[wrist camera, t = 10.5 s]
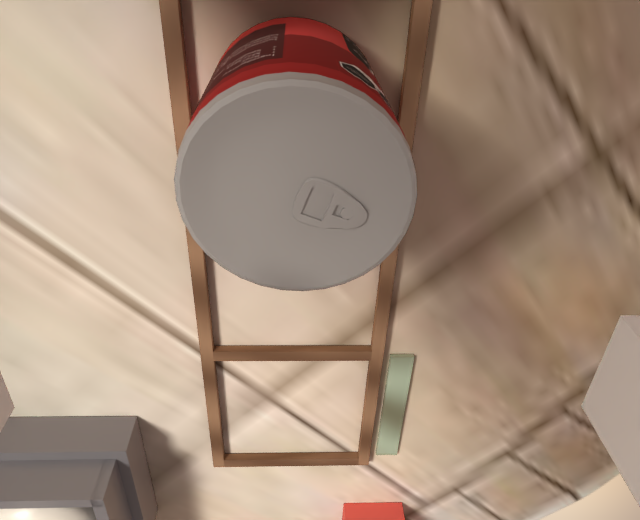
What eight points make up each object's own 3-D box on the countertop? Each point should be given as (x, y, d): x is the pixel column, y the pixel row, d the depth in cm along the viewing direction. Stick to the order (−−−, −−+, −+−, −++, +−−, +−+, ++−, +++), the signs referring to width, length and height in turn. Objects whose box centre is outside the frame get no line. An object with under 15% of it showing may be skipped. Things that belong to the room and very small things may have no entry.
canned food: (364, 175, 29) (397, 300, 20) (214, 162, 28) (176, 287, 19) (388, 22, 25) (445, 91, 15) (213, 4, 24) (164, 64, 15)
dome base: (-30, 417, 38) (-79, 495, 33) (136, 416, 38) (113, 492, 33) (15, 511, 44) (-20, 588, 39) (157, 508, 45) (140, 584, 40)
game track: (156, -47, 23) (153, -46, 22) (483, -34, 23) (487, -33, 23) (214, 460, 42) (213, 467, 41) (394, 457, 42) (396, 464, 42)
